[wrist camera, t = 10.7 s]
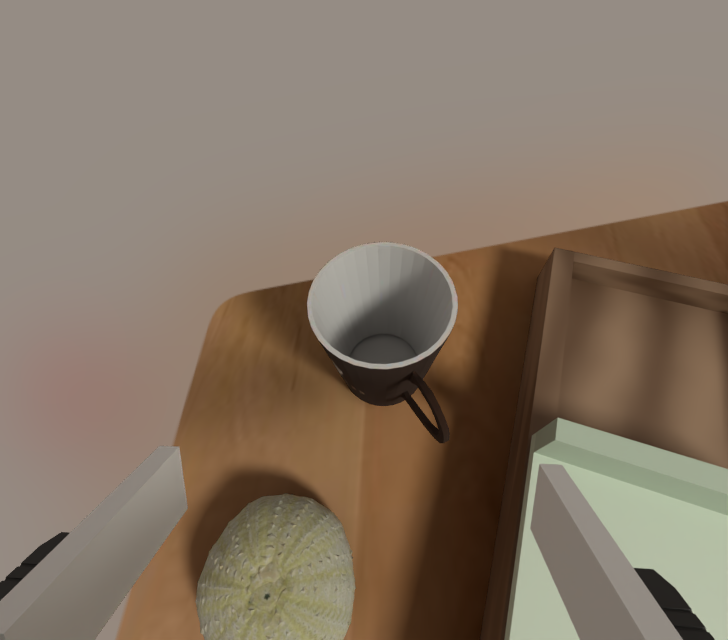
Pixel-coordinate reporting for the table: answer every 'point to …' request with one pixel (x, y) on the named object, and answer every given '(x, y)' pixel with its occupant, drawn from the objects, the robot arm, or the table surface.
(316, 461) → the table surface
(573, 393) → the brown wooden shallow box
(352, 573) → the sea urchin shell
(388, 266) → the coffee mug
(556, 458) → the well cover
